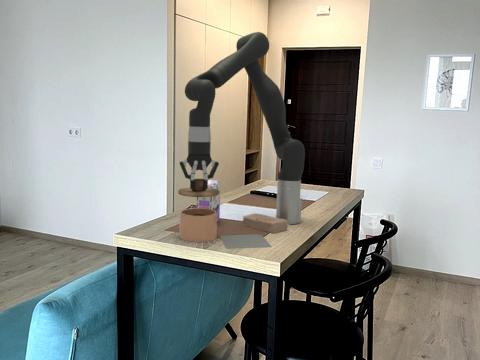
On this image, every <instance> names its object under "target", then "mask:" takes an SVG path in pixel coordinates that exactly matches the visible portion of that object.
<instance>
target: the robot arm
mask: <svg viewBox="0 0 480 360" xmlns="http://www.w3.org/2000/svg"><path fill="white" fill-rule="evenodd" d="M235 47H236V51H235V52H233V53H231V54H230V55H227V56H226V57H224V58H223V59H221V60H219V61H218V62H217V63H215V64H214V65H213V66H211V67H210V68H209V69H208V70H207V71H205V72H202V73H201V74H198V75H196V76H195V77H193V78H191V79H190V80H189V81H188V82H187V83H186V85H185V86H184V94H185V97H186V98H187V99H188V100H190V101H193V102H197V105H196V107H195V108H192V109H190V111H189V114H188V132H187V133H188V135H187V138H188V139H187V157H186V159H184V160H182V161H181V160H180V161H179V162H178V163H179V167H180V168H181V170H182V172H183V175H184V177H185V179H188V180H189V181H190V182H189V188H191V189H192V191H195V180H194V179H195V177H196V172H197V171H201V172H202V176H203V179H204V189H203V191H206V189H207V188H208V180H211V179H213V178H214V176H215V173H216V171H217V169H218V167H219V163H220V162H218V161H217V160H213V159H212V157H211V140H212V136H211V135H212V133H211V113H212V110H213V107H214V102H215V98H216V89H219V88H221V87H223V86H224V85H225V84H226V83H227V82H229V81H230V80H231V79H232V78H233V77H234V76H235V75H236V74H238V73H239V72H240V71H242V70H243V69H244V70H245V72H246V75H247V76H248V78H249V81H250V83H251V86H252V88H253V91H254V93H255V96H256V99H257V102H258V105H259V108H260V110H261V113H262V115H263V117H264V120H265V122H266V124H267V126H268V130H269V133H270V136H271V139H272V143H273V147H274V151H275V154H276V156H277V158H278V159H279V160H281V161H282V166H281V170H280V171H278V172H277V182H276V183H277V186H276V189H277V190H276V211H275V212H276V215H275V218H281V219H285V220H287V221H288V225H297V224H301V223H302V222H301V221H302V203H303V202H302V201H303V200H302V199H301V190H302V189H301V186H302V175H303V173H304V168H305V158H306V151H305V146H304V144H303V143H302V141H300V140H298V139H293V138H292V135H291V133H290V131H289V128H288V126H287V125H288V124H287V120H286V119H287V117H286V116H287V115H286V113H287V112H286V104H285V101H284V98H283V95H282V91H281V90H280V88H279V86H278V85H277V84H276V82H275V81H273V80H272V78H271V77H269V76H268V75H267V74H266V73H265V71H264V70H263V68H262V66H261V63H260V61H259V59H261V58H263V57H264V56H266V55H267V54H268V52H269V50H270V42H269V38H268V36H267V35H266V34H264V33H263V32H261V31H257V32H252V33H249V34H246V35H244V36H241V37H240V38H238V40H237V41H236V46H235ZM187 164H188V165H189V166H190V168H191V170H190V174H189V173H188V171H187V169H186V167H187ZM210 164H211V165H210ZM209 165H210V166H211V167H212V168H211V170H210V171H209V174H208V169H207V168H208V166H209Z"/></svg>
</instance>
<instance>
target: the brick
mask: <svg viewBox="0 0 480 360" xmlns="http://www.w3.org/2000/svg"><path fill="white" fill-rule="evenodd" d="M242 226H244V227H245V226H246V227H249V228H252V229H254V230H255V229H256V230H259V231H263V232H266V233H269V234H277V233H281V232H285V231H287V230H288V227H289V224H288V221H287V220H285V219H281V218H276V217H273V216H269V215H266V214H260V213H250V214H246V215H244V216H242Z"/></svg>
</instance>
